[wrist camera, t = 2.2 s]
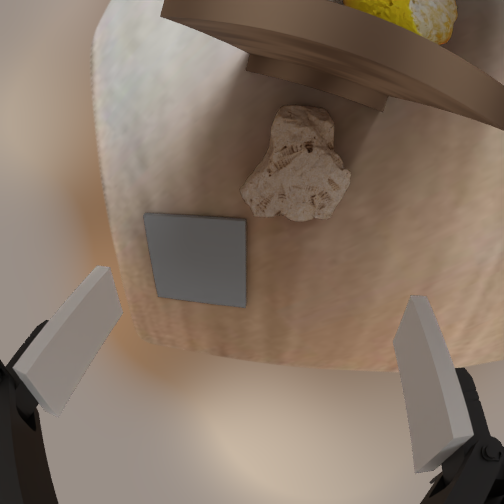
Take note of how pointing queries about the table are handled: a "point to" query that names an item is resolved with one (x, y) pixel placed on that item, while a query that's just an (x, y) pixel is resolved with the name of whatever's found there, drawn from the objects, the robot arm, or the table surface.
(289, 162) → the stone
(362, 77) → the board
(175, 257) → the pad
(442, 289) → the table surface
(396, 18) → the fruit
